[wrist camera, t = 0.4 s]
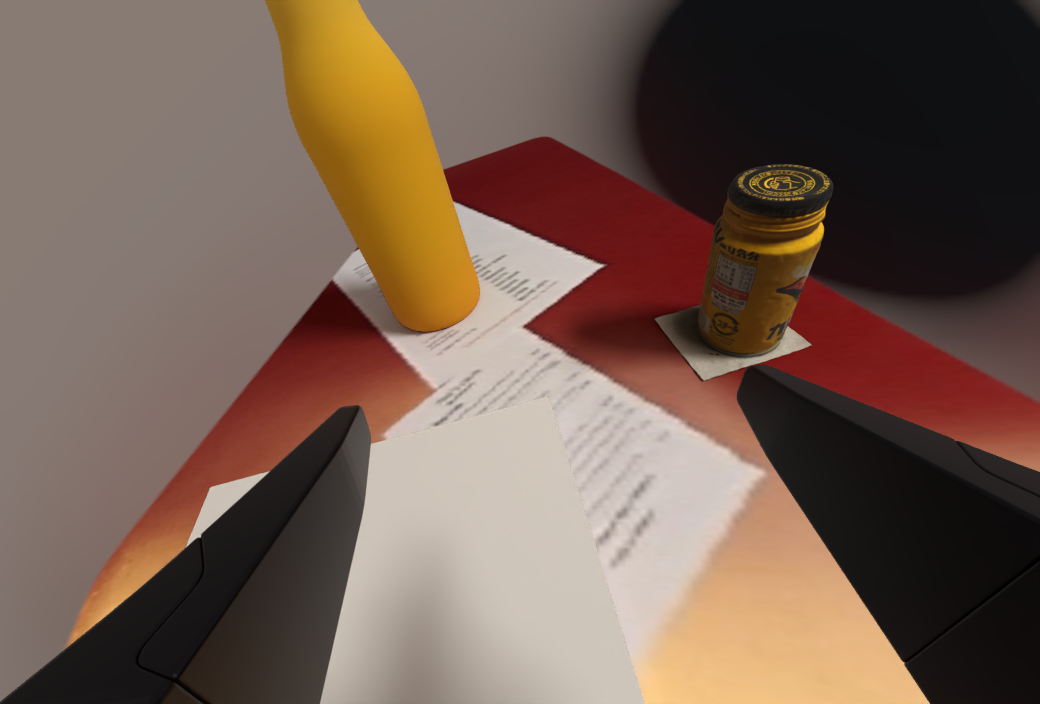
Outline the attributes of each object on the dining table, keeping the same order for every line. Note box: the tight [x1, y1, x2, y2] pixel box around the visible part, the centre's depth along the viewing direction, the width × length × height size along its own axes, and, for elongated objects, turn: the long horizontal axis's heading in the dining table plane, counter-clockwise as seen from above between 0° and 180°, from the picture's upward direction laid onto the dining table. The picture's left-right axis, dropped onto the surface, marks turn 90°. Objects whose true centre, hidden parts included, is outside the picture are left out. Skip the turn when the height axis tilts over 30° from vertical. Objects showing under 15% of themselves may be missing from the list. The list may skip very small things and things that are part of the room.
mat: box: [186, 396, 645, 704], centre depth 22 cm, size 22×26×1 cm
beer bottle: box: [265, 0, 480, 332], centre depth 31 cm, size 9×9×29 cm
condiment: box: [655, 164, 833, 380], centre depth 27 cm, size 7×8×12 cm
